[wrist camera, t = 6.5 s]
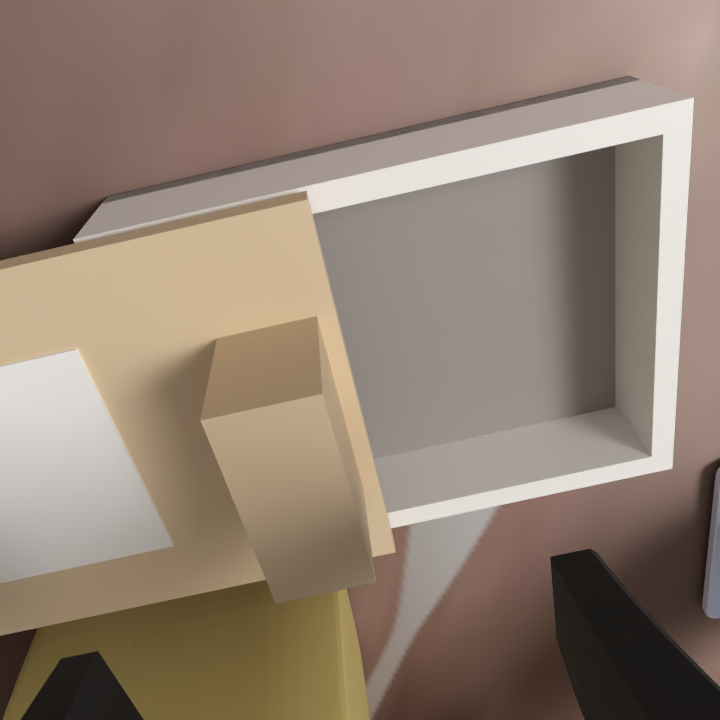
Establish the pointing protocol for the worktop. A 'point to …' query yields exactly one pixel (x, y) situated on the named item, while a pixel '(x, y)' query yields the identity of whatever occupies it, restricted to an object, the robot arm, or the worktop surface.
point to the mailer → (493, 287)
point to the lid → (180, 420)
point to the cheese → (217, 657)
